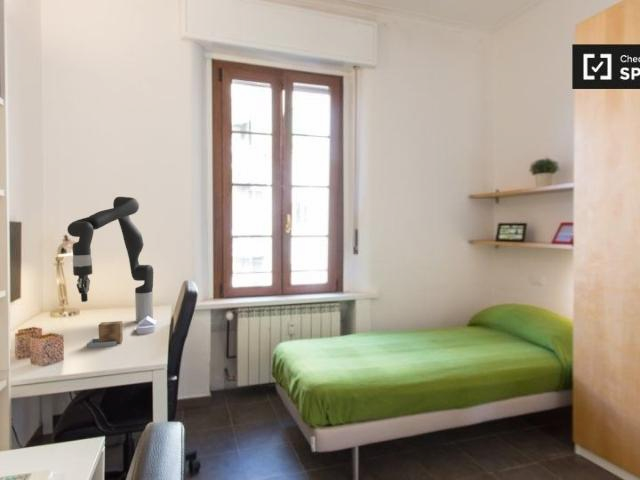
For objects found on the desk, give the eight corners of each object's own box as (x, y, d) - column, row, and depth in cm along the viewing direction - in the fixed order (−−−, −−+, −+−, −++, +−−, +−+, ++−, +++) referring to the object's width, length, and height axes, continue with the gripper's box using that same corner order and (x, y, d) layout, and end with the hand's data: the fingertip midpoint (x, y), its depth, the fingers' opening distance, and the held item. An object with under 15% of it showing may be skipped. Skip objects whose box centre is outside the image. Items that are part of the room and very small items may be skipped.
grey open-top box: (87, 348, 173) (87, 343, 173) (92, 342, 180) (91, 338, 180) (116, 345, 176) (116, 341, 176) (119, 340, 184) (119, 336, 184)
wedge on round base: (138, 328, 206) (135, 335, 194) (138, 316, 206) (135, 322, 193) (156, 327, 209) (154, 333, 197) (156, 315, 209) (154, 320, 196)
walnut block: (99, 346, 176) (98, 325, 175) (101, 343, 180) (101, 322, 180) (120, 344, 178) (120, 323, 178) (122, 341, 183) (122, 321, 183)
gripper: (77, 263, 179) (79, 299, 180) (68, 266, 167) (70, 305, 168) (95, 262, 182) (97, 298, 183) (88, 265, 169) (90, 303, 170)
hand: (84, 301), depth 175 cm, fingers closed
